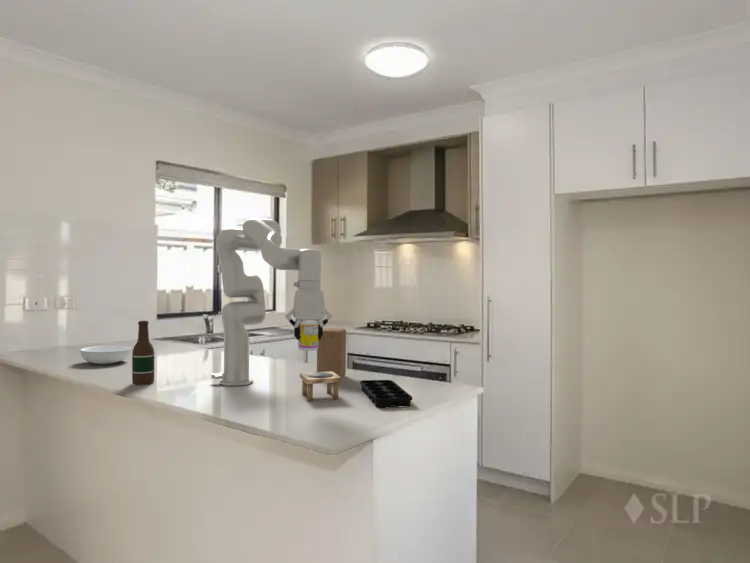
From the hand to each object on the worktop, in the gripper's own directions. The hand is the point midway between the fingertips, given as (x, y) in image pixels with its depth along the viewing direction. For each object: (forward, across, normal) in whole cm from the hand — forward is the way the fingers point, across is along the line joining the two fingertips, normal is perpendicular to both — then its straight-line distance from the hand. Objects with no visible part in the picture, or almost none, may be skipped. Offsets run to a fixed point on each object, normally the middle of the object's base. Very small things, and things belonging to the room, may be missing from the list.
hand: (308, 338), depth 179 cm
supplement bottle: (+4, 0, 0) cm, 4 cm away
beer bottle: (+22, -56, +43) cm, 74 cm away
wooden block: (+22, +16, +36) cm, 45 cm away
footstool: (+21, +5, +5) cm, 23 cm away
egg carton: (+22, +27, -1) cm, 35 cm away
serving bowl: (+23, -77, +95) cm, 124 cm away
